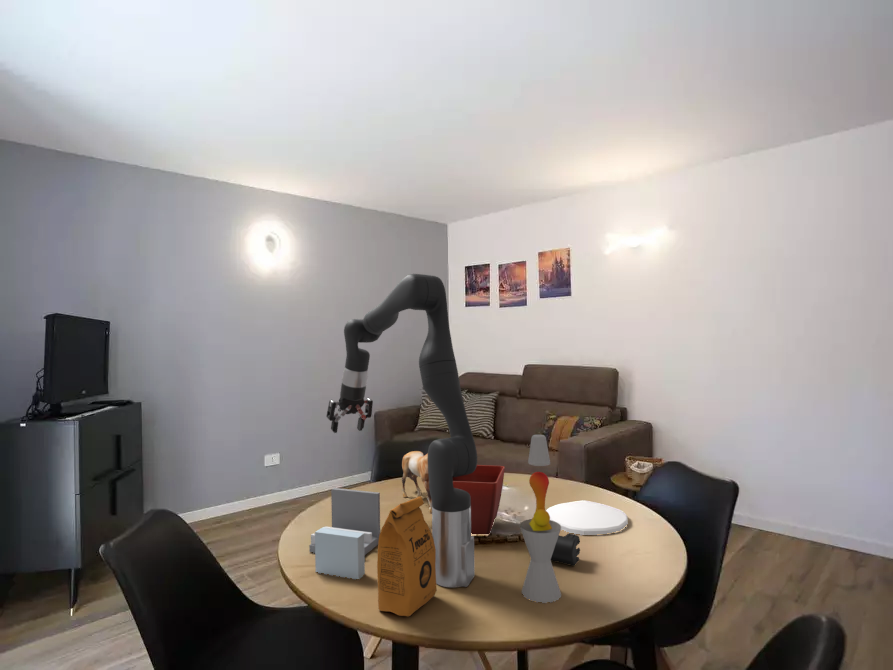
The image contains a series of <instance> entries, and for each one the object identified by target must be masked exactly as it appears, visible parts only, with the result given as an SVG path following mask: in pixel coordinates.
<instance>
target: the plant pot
mask: <svg viewBox="0 0 893 670" xmlns="http://www.w3.org/2000/svg"><path fill="white" fill-rule="evenodd" d="M505 469H506V468H505V466H503V465H487V464H477V467H476V469H475V471H474V472H473V473H471V474H468V475H463V476H458V477H453V487H454V488H457V489H461V490H464V491H466V492H468V493H469V494H470V497H471V533H472V534H489V533H490V531H491V532H492V530H491V528H492V525H493V522H494V519H495V518H496V519H497V516H498V512H499V508H500V502H501V498H502V492H503V487H504V486H503V485H504V477H505ZM493 526H494V525H493ZM492 529H493V528H492ZM490 534H491V533H490Z"/></svg>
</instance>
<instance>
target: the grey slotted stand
mask: <svg viewBox="0 0 893 670" xmlns="http://www.w3.org/2000/svg"><path fill="white" fill-rule="evenodd" d="M330 491H331V492H330V493H331V498H330V500H331V503H330V504H331V526H327V525H326V526H323V527H322V528H328V529H336V530H343V531H351V532H358V533H364V556H366V555H367V554H368V553H369V552H371V551H372V550H373V549H374V548H376V547H378V542H379V535H380V532H381V497H380V496H381V495H380V494H381V493H380V492H377V491H376V492H375V491H370V490H369V491H366V490H356V489H349V488H347V489H346V488H338V487H337V488H336V487H333V488H331V490H330ZM308 546H309V551H308V552H309V553H310V552H313V553H312V554H315V533H311V534H310V544H309V545H308Z"/></svg>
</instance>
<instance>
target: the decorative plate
mask: <svg viewBox="0 0 893 670" xmlns="http://www.w3.org/2000/svg"><path fill="white" fill-rule="evenodd" d="M545 510H546V511H547V512H548V513H549V516H550V520H552V521H555V522H557V523H558V524H560V526H561V530H560V531H562V530H564V531H563V532H565V531H566V532H565V533H567V532H569V533H574V534H575V535H576V534H580V535H579V536H582V535H597V534H607V533H612V532H616V531H620V530H621V529H623V528H624V527H625V526H626V525H627V524H628V521H629V519H628V518H629V517H628V515H627V513H625V511H623V510H622V509H619V508H616V507H614V506H611V505H608V504H603V503H599V502H596V501H590V500H587V499H586V500H585V499H583V500H582V499H581V500H576V501H570V502H569V501H568V502H562V503H558V504H555V505H553V506H550V507H548V508H547V509H545ZM628 525H629V524H628ZM569 533H568V534H569ZM574 534H573V535H574ZM597 536H598V535H597Z"/></svg>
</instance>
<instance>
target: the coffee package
mask: <svg viewBox="0 0 893 670" xmlns="http://www.w3.org/2000/svg"><path fill="white" fill-rule="evenodd" d="M424 503H425V502H424V500H423V497H422V496H421V497H417V496H416V497H415V498H412V499H409V500H408V501H404V502H401V503H400V504H398V505H396V506H395V507H393V508H391V510H390V511H389V513H388V516H387V517H386V519H385V521H384V524H383V526H382V527H381V529H380V535H379V542H378V545H377V562H376V563H377V565H376V568H377V569H376V570H377V571H376V573H377V595H378V596H377V602H378V605H377V606H378V610H379V611H381V612H389V613H390V612H391V613H393V614H395V615H397V616H399V617H410V616H411V615H413V613H415V612H416V611H417V610H419V609H420V608H421V607H422V606H424V605H426V604H427V603H429V601H430V600H431V599H432V598H433V597H435V595H436V593H437V584H436V570H435V562H436V549H435V544H434V539H433V537H432V531H431V529H430V528H429V525H428V524H427V522H426V521H425V517H424V514H423V510H422V509H421V508H420V507H422V506H423V505H424Z"/></svg>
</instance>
